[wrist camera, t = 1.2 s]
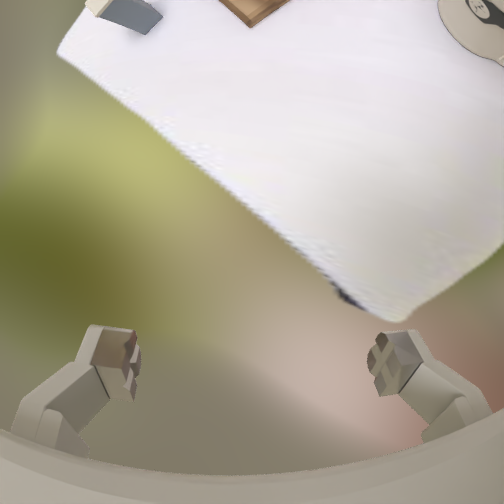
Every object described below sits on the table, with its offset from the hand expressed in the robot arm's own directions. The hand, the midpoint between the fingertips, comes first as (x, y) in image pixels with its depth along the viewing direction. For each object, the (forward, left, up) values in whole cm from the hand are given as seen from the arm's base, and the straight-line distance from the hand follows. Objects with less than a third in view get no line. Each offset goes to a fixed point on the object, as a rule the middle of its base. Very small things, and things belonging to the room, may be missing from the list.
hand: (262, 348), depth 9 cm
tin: (+5, -48, -39) cm, 62 cm away
